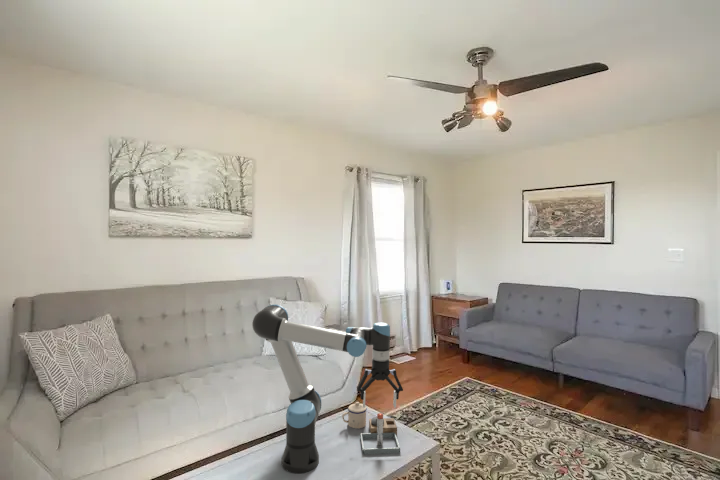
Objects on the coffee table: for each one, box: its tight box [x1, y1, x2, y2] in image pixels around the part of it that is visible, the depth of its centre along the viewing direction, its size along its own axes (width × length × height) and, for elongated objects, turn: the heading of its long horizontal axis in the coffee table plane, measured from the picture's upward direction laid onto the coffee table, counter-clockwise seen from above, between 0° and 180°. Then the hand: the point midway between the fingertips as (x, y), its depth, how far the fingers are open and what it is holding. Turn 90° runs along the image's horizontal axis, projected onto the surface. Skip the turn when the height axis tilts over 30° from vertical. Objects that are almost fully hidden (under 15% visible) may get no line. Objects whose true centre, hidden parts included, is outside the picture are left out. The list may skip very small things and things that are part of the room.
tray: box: [359, 432, 401, 455], centre depth 173 cm, size 16×13×3 cm
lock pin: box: [376, 412, 384, 448], centre depth 173 cm, size 3×3×14 cm
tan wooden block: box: [368, 416, 398, 437], centre depth 185 cm, size 12×9×7 cm
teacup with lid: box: [341, 401, 367, 429], centre depth 191 cm, size 12×9×12 cm
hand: (379, 406), depth 173 cm, fingers open, 13 cm apart
